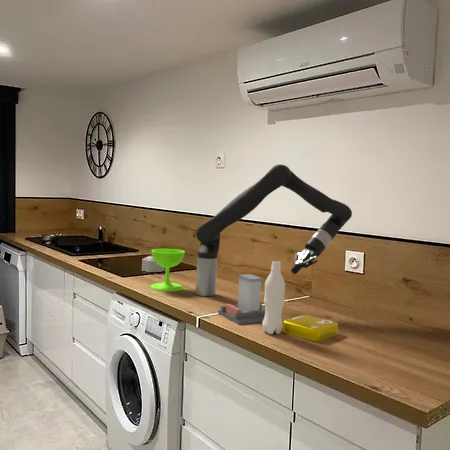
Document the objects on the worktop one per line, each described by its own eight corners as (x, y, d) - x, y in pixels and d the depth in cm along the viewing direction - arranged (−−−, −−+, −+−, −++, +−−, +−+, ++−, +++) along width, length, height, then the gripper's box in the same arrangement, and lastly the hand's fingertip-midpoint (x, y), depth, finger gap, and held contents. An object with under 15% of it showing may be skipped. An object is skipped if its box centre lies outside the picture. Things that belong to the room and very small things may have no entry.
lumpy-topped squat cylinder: (139, 271, 272) (140, 256, 271) (157, 269, 281) (158, 254, 281) (151, 274, 265) (151, 258, 264) (168, 271, 274) (169, 256, 274)
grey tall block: (236, 310, 188) (238, 274, 187) (248, 309, 190) (250, 274, 189) (248, 315, 180) (250, 278, 179) (260, 314, 183) (262, 278, 182)
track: (218, 313, 188) (218, 302, 188) (256, 309, 197) (257, 299, 197) (238, 324, 174) (239, 312, 174) (279, 320, 183) (279, 308, 183)
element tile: (304, 325, 180) (304, 312, 179) (339, 334, 169) (340, 321, 169) (280, 332, 169) (281, 319, 168) (316, 343, 158) (317, 329, 158)
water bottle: (266, 335, 163) (270, 263, 161) (259, 329, 169) (263, 259, 168) (285, 335, 164) (290, 263, 163) (277, 328, 171) (282, 260, 169)
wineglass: (167, 293, 220) (168, 254, 218) (143, 287, 229) (144, 250, 228) (190, 288, 232) (191, 251, 231) (166, 283, 242) (167, 247, 241)
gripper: (304, 234, 203) (278, 263, 198) (324, 238, 192) (298, 269, 187) (312, 246, 206) (288, 275, 201) (333, 250, 195) (308, 282, 190)
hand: (293, 272), depth 194 cm, fingers closed
